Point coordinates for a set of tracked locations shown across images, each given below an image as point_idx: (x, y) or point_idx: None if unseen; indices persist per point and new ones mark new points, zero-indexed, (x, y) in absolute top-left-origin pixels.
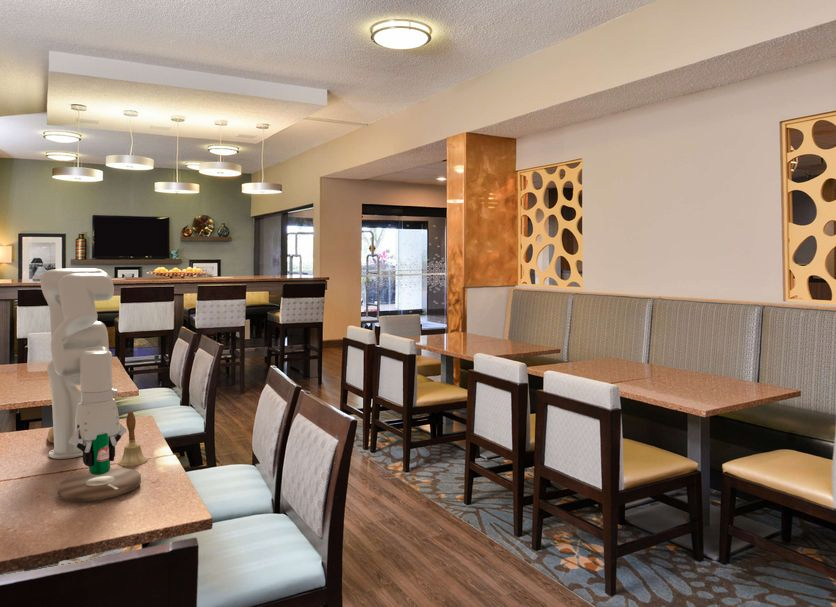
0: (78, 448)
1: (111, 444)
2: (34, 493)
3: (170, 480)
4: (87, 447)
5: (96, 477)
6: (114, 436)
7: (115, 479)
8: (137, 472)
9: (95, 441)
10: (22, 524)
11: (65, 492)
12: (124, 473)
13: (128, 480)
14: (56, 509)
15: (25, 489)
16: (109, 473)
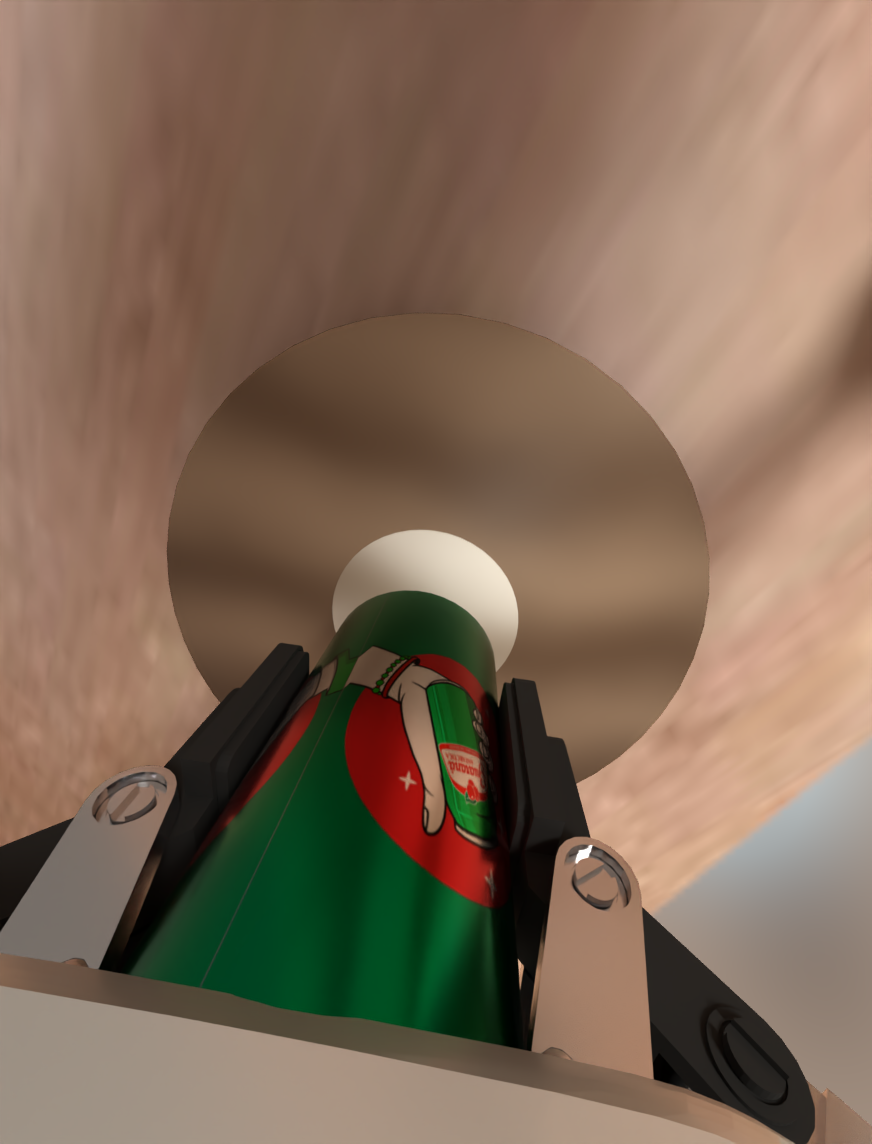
0: (27, 839)
1: (526, 949)
2: (129, 230)
3: (729, 783)
4: (121, 963)
5: (447, 539)
6: (686, 1076)
7: (496, 677)
8: (666, 690)
9: None
10: (13, 656)
11: (190, 612)
12: (611, 632)
13: None
14: (164, 630)
15: (90, 21)
16: (561, 535)
